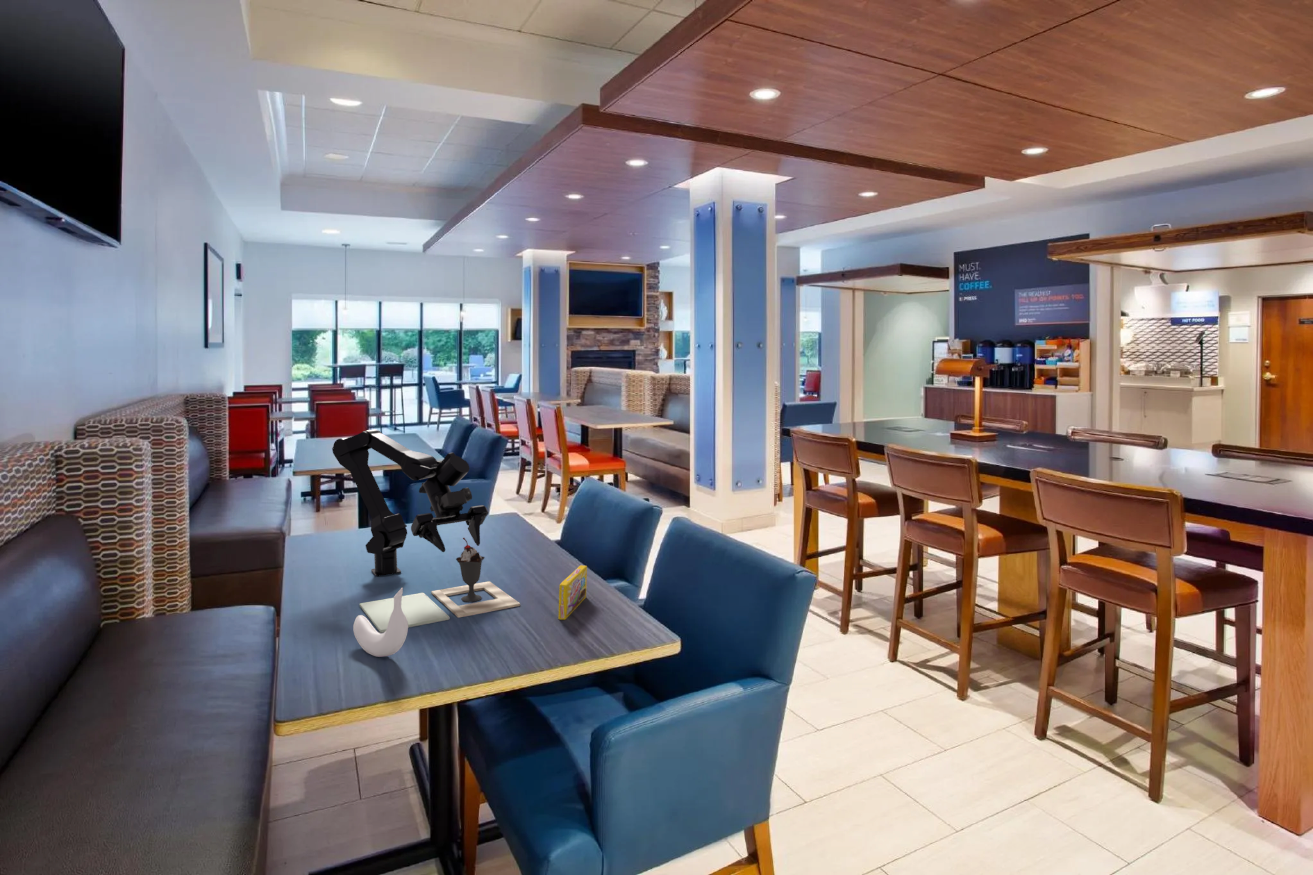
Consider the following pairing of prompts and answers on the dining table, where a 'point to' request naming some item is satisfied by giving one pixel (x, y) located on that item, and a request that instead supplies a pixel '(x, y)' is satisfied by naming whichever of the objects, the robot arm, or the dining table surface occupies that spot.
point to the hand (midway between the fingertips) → (461, 548)
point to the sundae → (470, 571)
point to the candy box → (572, 592)
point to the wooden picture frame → (498, 603)
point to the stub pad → (404, 611)
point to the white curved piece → (390, 638)
